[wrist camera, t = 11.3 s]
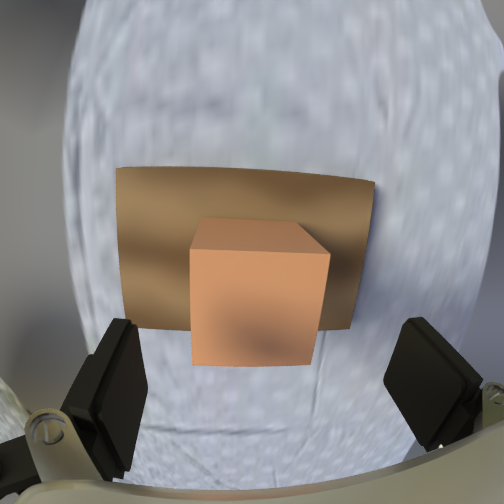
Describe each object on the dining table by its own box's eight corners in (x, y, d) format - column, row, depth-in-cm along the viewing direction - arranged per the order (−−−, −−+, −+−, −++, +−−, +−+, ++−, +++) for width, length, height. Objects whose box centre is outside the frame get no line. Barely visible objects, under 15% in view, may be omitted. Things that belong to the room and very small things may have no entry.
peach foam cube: (201, 217, 19) (189, 248, 12) (295, 222, 19) (330, 254, 13) (200, 303, 20) (192, 365, 14) (285, 305, 21) (310, 364, 15)
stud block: (125, 167, 20) (67, 176, 11) (363, 179, 22) (434, 196, 13) (133, 314, 24) (100, 385, 15) (341, 317, 25) (385, 381, 17)
